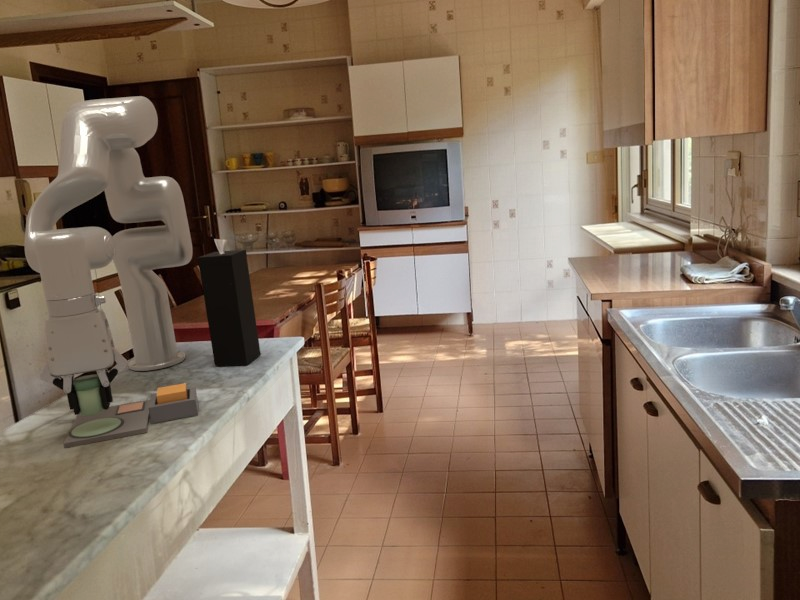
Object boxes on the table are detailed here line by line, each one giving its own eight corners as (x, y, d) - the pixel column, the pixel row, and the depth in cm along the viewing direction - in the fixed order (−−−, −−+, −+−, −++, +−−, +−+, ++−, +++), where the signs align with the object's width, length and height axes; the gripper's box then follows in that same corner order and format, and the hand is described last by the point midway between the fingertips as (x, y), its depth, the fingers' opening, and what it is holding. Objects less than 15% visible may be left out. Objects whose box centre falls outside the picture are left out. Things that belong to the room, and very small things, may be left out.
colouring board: (79, 416, 129) (78, 411, 128) (152, 403, 132) (151, 398, 132) (64, 448, 114) (63, 442, 113) (146, 432, 117) (145, 427, 117)
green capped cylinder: (81, 409, 120) (75, 377, 119) (107, 405, 121) (101, 373, 120) (77, 417, 116) (71, 384, 115) (104, 413, 117) (98, 379, 116)
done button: (160, 400, 127) (157, 387, 126) (187, 395, 128) (185, 383, 128) (158, 408, 122) (156, 396, 122) (187, 403, 123) (185, 391, 123)
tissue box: (247, 365, 151) (228, 239, 145) (214, 367, 152) (194, 242, 147) (261, 355, 158) (244, 235, 153) (229, 356, 160) (211, 237, 154)
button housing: (153, 409, 128) (151, 394, 128) (197, 401, 130) (195, 386, 130) (151, 423, 121) (148, 407, 120) (198, 415, 123) (195, 399, 122)
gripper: (127, 295, 120) (145, 394, 124) (23, 310, 116) (44, 411, 120) (123, 303, 113) (142, 407, 117) (11, 318, 109) (35, 426, 113)
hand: (92, 408), depth 118 cm, fingers closed on green capped cylinder, 4 cm apart
